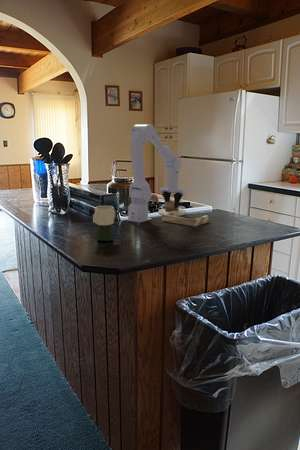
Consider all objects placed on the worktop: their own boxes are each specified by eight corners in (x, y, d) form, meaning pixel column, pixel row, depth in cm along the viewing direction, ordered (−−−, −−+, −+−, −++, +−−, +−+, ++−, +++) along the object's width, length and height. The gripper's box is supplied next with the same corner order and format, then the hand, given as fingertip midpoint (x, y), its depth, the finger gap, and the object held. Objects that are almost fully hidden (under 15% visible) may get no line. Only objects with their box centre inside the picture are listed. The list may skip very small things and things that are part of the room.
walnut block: (173, 212, 190) (173, 202, 189) (165, 211, 193) (165, 201, 192) (178, 210, 194) (178, 201, 193) (170, 209, 197) (170, 200, 196)
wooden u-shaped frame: (194, 226, 167) (194, 219, 166) (161, 220, 178) (161, 214, 177) (208, 221, 176) (208, 215, 175) (175, 216, 187) (175, 210, 186)
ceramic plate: (175, 217, 185) (175, 215, 184) (153, 213, 193) (153, 211, 193) (190, 212, 195) (190, 210, 195) (168, 209, 204) (168, 207, 203)
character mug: (108, 236, 151) (108, 204, 148) (121, 239, 146) (121, 206, 143) (87, 241, 143) (86, 208, 140) (100, 245, 138) (99, 210, 135)
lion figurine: (139, 208, 208) (139, 192, 206) (134, 206, 212) (134, 190, 210) (161, 205, 215) (162, 190, 213) (157, 204, 220) (157, 188, 217)
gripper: (189, 180, 189) (188, 207, 192) (165, 178, 198) (165, 204, 201) (181, 182, 184) (180, 209, 187) (157, 179, 192) (157, 206, 195)
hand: (172, 206), depth 193 cm, fingers closed on walnut block, 5 cm apart
